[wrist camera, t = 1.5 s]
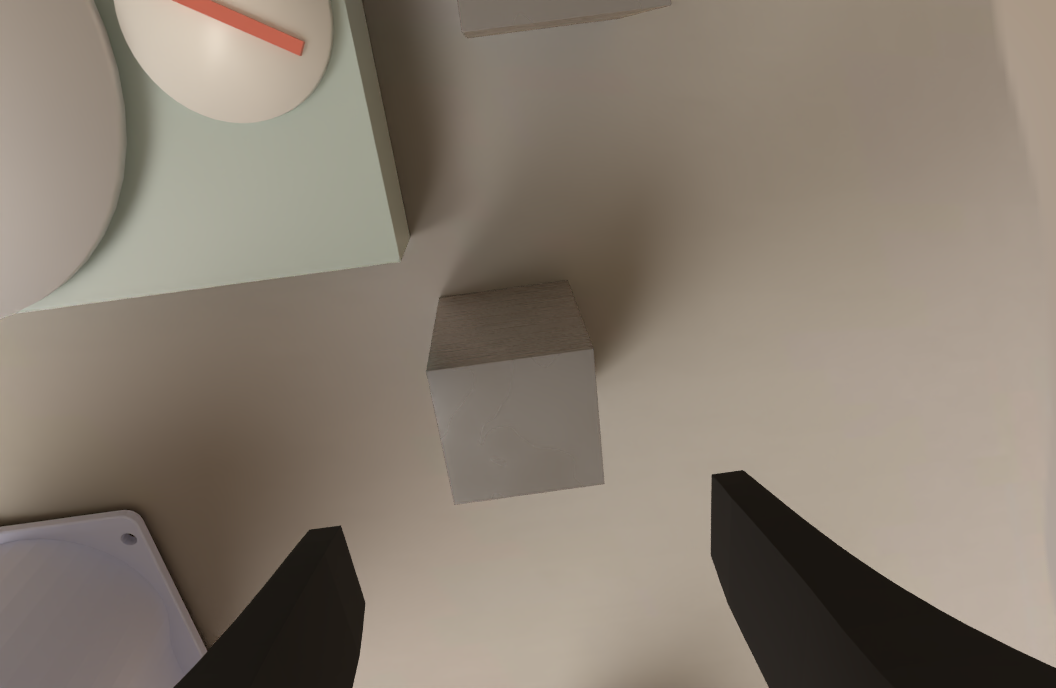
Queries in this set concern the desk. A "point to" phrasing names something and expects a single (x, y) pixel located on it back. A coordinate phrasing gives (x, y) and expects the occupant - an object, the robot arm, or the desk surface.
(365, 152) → the scale
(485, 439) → the block
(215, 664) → the robot arm
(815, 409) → the desk surface
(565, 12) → the block
